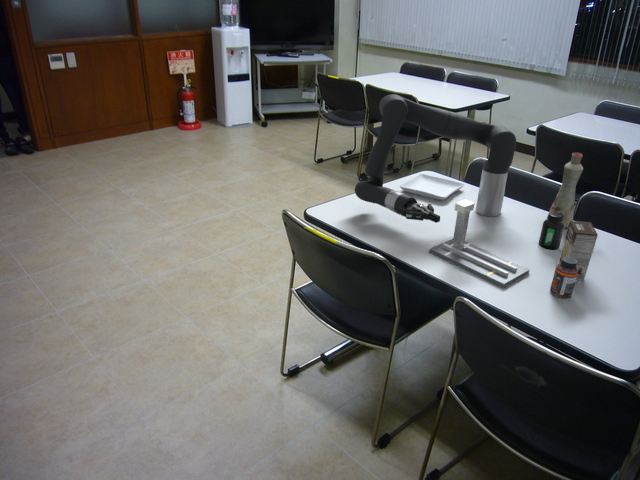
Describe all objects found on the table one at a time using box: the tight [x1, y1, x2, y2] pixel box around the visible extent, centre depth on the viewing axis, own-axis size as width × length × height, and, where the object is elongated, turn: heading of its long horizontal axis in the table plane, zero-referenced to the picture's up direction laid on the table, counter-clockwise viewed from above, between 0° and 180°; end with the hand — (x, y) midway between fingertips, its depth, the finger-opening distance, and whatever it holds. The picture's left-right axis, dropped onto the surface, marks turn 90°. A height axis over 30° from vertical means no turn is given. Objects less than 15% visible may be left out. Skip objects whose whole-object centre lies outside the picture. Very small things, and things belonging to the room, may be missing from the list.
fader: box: [451, 199, 476, 251], centre depth 170 cm, size 5×4×16 cm
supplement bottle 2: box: [549, 257, 578, 299], centre depth 151 cm, size 6×6×11 cm
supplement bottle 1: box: [538, 211, 565, 251], centre depth 178 cm, size 7×7×12 cm
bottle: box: [546, 152, 584, 229], centre depth 191 cm, size 9×9×28 cm
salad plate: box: [399, 173, 465, 201], centre depth 224 cm, size 21×21×3 cm
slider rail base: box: [428, 238, 530, 289], centre depth 168 cm, size 14×28×3 cm, turn 40°
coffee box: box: [558, 220, 598, 282], centre depth 161 cm, size 9×6×16 cm
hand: (438, 219), depth 176 cm, fingers closed
